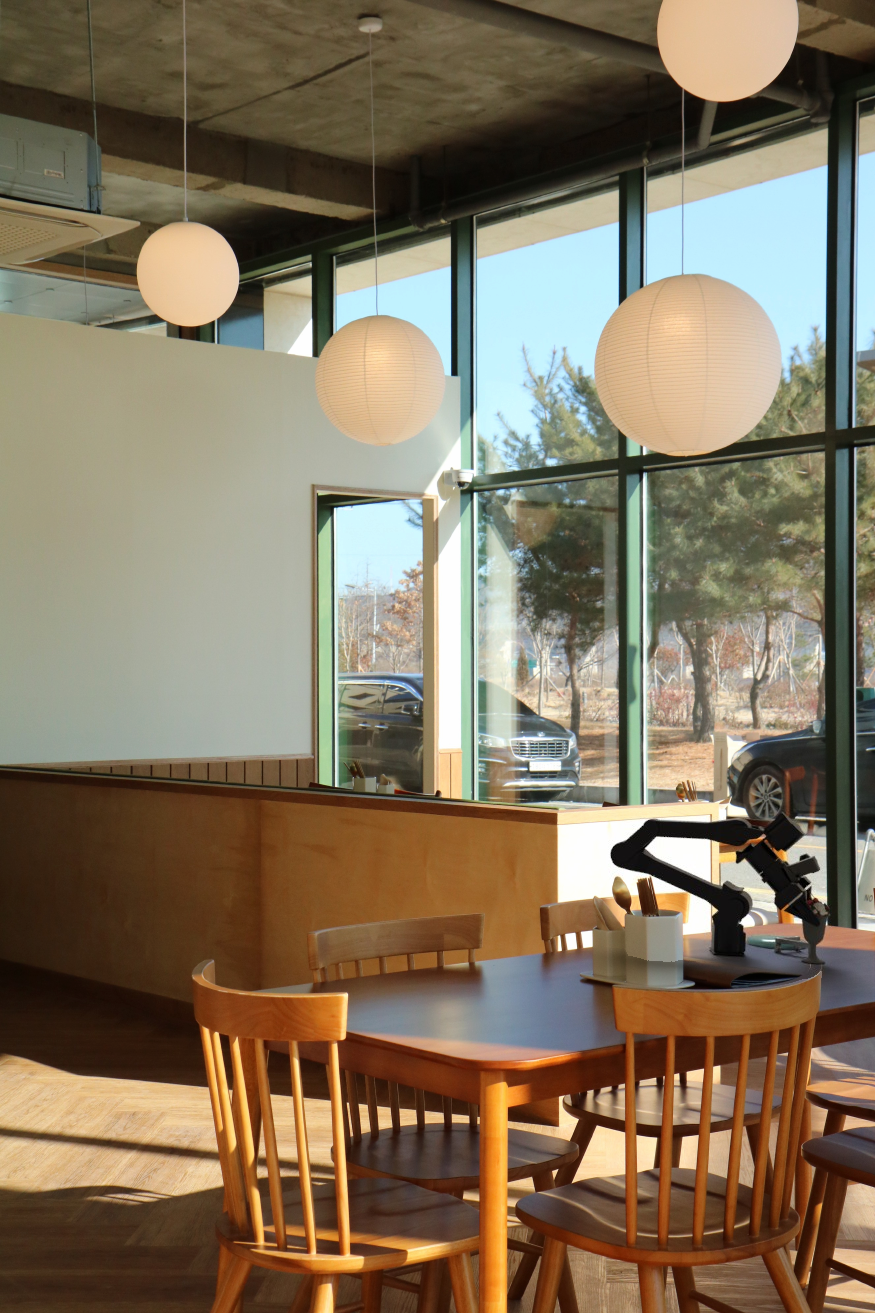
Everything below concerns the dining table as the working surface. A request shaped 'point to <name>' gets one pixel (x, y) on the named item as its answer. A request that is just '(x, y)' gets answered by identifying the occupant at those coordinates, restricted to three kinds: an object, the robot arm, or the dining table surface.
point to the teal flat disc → (767, 941)
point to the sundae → (815, 929)
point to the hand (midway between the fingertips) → (820, 923)
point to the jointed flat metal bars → (791, 943)
